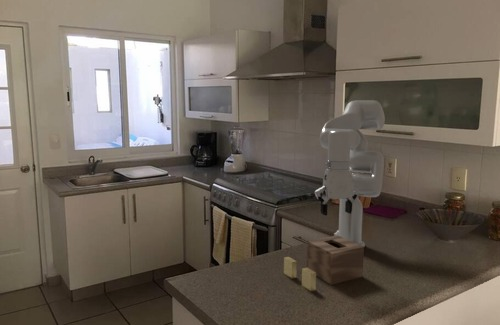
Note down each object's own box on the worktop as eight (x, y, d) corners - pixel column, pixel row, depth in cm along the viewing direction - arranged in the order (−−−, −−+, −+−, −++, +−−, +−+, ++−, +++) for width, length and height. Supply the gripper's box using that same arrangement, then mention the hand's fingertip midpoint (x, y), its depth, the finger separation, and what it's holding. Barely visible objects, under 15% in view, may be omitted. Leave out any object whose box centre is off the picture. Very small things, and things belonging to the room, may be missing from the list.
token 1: (283, 273, 150) (284, 257, 149) (288, 272, 151) (288, 256, 150) (291, 278, 146) (291, 262, 145) (296, 277, 147) (296, 261, 146)
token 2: (301, 285, 140) (302, 268, 139) (306, 284, 141) (306, 267, 140) (310, 291, 136) (311, 273, 135) (315, 290, 137) (316, 272, 136)
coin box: (306, 270, 153) (307, 241, 151) (336, 263, 159) (337, 235, 158) (331, 284, 141) (332, 253, 139) (362, 276, 147) (364, 246, 146)
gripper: (321, 167, 139) (319, 218, 141) (365, 166, 145) (363, 214, 147) (310, 165, 146) (309, 212, 149) (353, 163, 152) (351, 209, 154)
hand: (336, 213), depth 148 cm, fingers open, 9 cm apart
